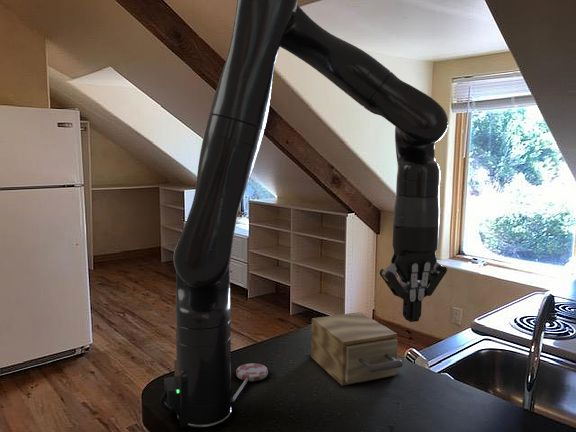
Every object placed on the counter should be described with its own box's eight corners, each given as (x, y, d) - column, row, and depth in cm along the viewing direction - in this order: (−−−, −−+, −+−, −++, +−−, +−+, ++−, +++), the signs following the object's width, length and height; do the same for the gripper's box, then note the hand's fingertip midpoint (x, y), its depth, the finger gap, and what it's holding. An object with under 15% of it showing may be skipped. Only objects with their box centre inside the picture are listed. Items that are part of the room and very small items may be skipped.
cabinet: (395, 375, 100) (397, 333, 98) (341, 385, 95) (343, 342, 94) (359, 349, 113) (360, 311, 112) (310, 357, 108) (311, 318, 107)
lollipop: (215, 395, 88) (241, 361, 103) (215, 400, 88) (241, 365, 103) (249, 399, 87) (271, 364, 101) (250, 405, 87) (271, 369, 101)
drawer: (411, 385, 94) (412, 349, 93) (360, 395, 89) (361, 358, 88) (362, 349, 110) (363, 319, 110) (317, 356, 106) (318, 325, 105)
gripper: (433, 217, 87) (428, 309, 89) (370, 220, 82) (367, 318, 84) (462, 223, 80) (456, 322, 82) (396, 227, 75) (392, 332, 77)
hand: (411, 320), depth 83 cm, fingers closed
